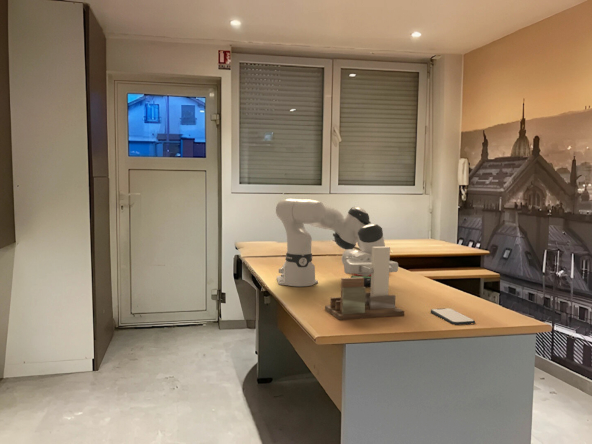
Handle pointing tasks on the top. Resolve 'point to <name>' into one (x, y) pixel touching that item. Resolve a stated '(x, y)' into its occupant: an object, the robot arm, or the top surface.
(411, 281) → the top surface
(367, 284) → the disk drive
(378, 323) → the top surface
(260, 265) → the top surface
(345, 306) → the block
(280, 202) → the robot arm
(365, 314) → the rack
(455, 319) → the smartphone
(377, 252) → the cream rectangular board
